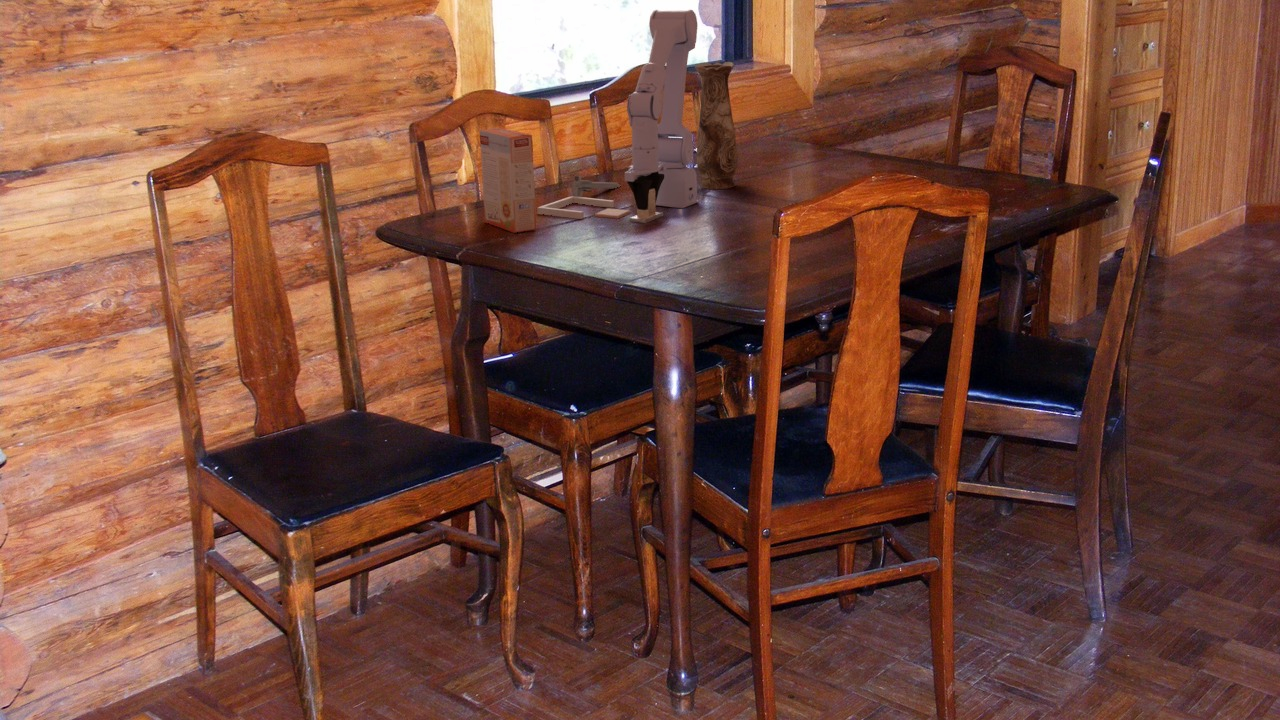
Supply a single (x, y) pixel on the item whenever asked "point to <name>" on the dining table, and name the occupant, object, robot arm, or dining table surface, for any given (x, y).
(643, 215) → the scraper
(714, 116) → the vase
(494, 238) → the dining table surface
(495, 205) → the cracker box
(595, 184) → the caliper
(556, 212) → the frame
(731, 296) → the dining table surface
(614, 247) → the dining table surface
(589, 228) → the dining table surface
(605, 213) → the tile
